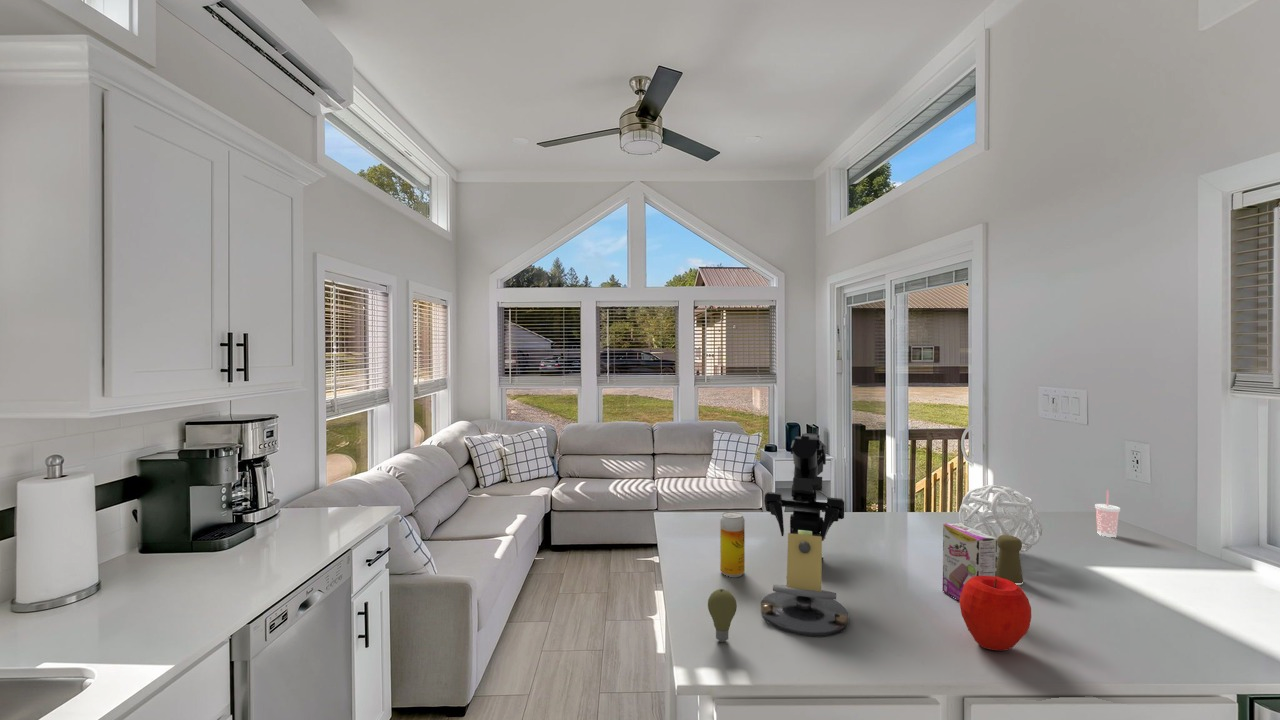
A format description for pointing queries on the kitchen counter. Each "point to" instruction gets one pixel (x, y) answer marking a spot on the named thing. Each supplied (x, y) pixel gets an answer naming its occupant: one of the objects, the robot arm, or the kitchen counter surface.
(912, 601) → the kitchen counter surface
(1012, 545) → the brown rounded upright piece
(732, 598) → the light bulb
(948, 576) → the candy bar box
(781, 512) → the robot arm
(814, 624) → the base
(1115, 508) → the beverage cup
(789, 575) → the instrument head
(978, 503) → the decorative ball
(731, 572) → the beer can
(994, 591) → the apple
